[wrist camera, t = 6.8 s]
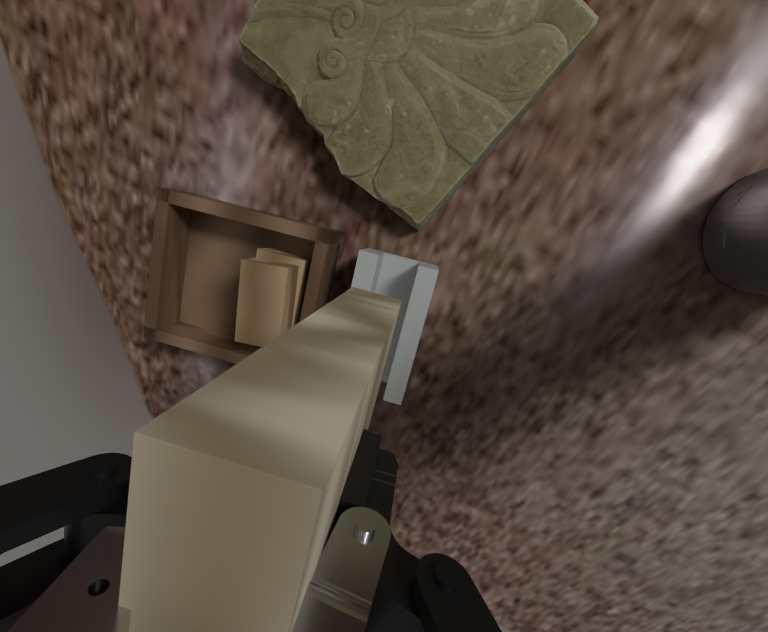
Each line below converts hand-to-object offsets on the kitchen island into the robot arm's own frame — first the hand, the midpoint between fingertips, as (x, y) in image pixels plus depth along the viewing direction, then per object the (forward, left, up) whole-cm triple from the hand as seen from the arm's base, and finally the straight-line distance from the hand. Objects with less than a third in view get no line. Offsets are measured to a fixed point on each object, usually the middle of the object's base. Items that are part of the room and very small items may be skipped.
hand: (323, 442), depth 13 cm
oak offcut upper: (+9, 0, -17) cm, 19 cm away
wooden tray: (+13, 0, -20) cm, 24 cm away
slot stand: (0, 0, -20) cm, 20 cm away
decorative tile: (+4, -20, -21) cm, 29 cm away
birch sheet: (0, 0, -6) cm, 6 cm away
